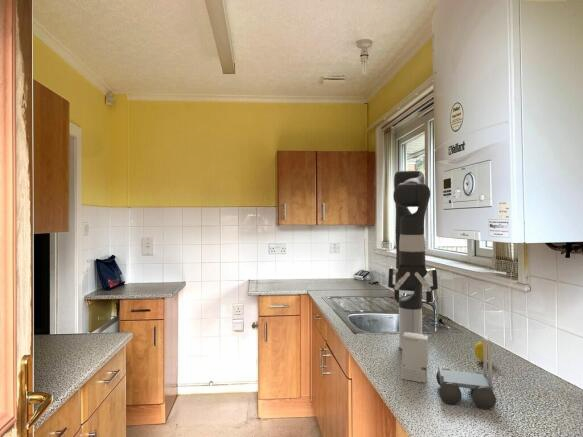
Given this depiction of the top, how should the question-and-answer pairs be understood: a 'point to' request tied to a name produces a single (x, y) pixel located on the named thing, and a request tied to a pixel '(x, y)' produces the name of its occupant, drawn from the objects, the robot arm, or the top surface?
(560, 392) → the top surface
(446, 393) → the trolley
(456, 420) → the top surface
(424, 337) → the skincare box
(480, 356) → the lemon
